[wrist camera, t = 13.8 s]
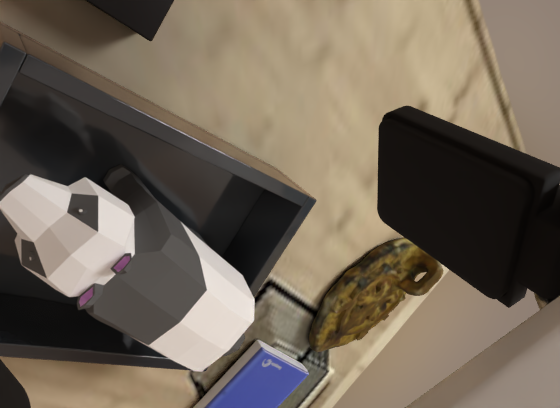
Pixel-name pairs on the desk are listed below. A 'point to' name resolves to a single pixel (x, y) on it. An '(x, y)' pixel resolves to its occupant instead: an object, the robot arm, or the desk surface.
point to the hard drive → (256, 380)
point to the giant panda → (130, 264)
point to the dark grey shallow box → (94, 166)
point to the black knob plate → (136, 13)
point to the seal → (372, 292)
